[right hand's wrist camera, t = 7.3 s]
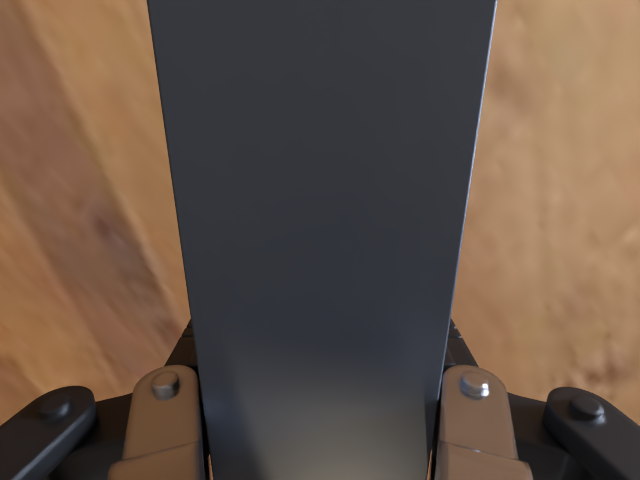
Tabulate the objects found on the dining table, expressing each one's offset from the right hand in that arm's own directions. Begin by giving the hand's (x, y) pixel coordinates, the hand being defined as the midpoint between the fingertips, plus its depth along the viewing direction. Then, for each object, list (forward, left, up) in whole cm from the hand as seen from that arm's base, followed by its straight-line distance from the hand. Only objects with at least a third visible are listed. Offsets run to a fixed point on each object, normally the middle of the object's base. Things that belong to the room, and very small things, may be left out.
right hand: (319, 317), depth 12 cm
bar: (+20, -14, -4) cm, 25 cm away
